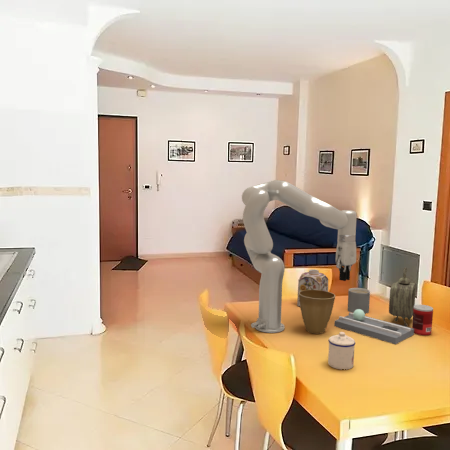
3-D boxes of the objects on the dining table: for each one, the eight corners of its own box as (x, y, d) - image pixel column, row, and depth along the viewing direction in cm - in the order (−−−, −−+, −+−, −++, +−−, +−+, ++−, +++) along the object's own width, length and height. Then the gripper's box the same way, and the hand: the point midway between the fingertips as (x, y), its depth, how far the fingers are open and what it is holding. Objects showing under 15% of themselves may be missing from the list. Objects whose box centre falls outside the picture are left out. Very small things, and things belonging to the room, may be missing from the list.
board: (334, 326, 206) (334, 318, 206) (353, 318, 217) (354, 310, 217) (395, 344, 186) (396, 335, 186) (413, 334, 197) (414, 326, 197)
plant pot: (333, 338, 191) (335, 299, 189) (296, 335, 194) (297, 297, 192) (333, 326, 206) (334, 290, 204) (298, 323, 209) (299, 288, 207)
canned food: (431, 331, 202) (433, 306, 201) (431, 337, 195) (433, 311, 193) (412, 328, 205) (414, 303, 204) (411, 334, 198) (412, 308, 197)
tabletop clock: (409, 328, 204) (413, 271, 201) (387, 325, 208) (390, 269, 205) (413, 319, 217) (417, 265, 214) (392, 316, 221) (396, 263, 218)
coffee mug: (371, 314, 224) (372, 293, 222) (350, 313, 224) (351, 293, 222) (363, 305, 237) (364, 286, 236) (343, 305, 237) (344, 285, 236)
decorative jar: (318, 310, 228) (320, 273, 226) (296, 306, 234) (297, 270, 232) (328, 304, 238) (329, 269, 236) (306, 300, 244) (307, 266, 242)
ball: (360, 323, 203) (361, 311, 202) (350, 320, 206) (351, 309, 206) (366, 320, 206) (367, 309, 206) (356, 317, 210) (357, 306, 209)
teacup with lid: (358, 370, 162) (359, 337, 161) (332, 370, 161) (333, 337, 160) (345, 355, 174) (347, 325, 173) (321, 356, 173) (322, 325, 172)
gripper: (343, 241, 199) (341, 284, 202) (363, 238, 210) (361, 278, 213) (328, 239, 205) (326, 281, 207) (348, 236, 216) (346, 275, 218)
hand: (344, 279), depth 210 cm, fingers closed
